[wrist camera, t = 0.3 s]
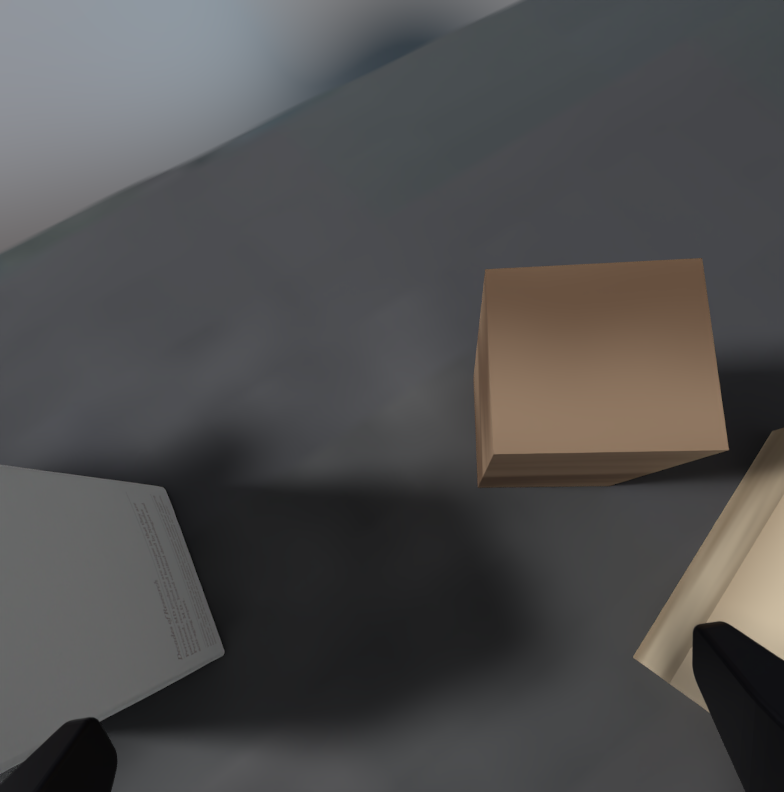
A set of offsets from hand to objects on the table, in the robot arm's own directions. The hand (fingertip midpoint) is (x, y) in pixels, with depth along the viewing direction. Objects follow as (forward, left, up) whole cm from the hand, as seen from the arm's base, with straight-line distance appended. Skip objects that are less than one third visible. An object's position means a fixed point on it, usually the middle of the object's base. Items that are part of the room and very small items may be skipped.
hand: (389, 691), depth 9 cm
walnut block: (+1, -8, -14) cm, 16 cm away
